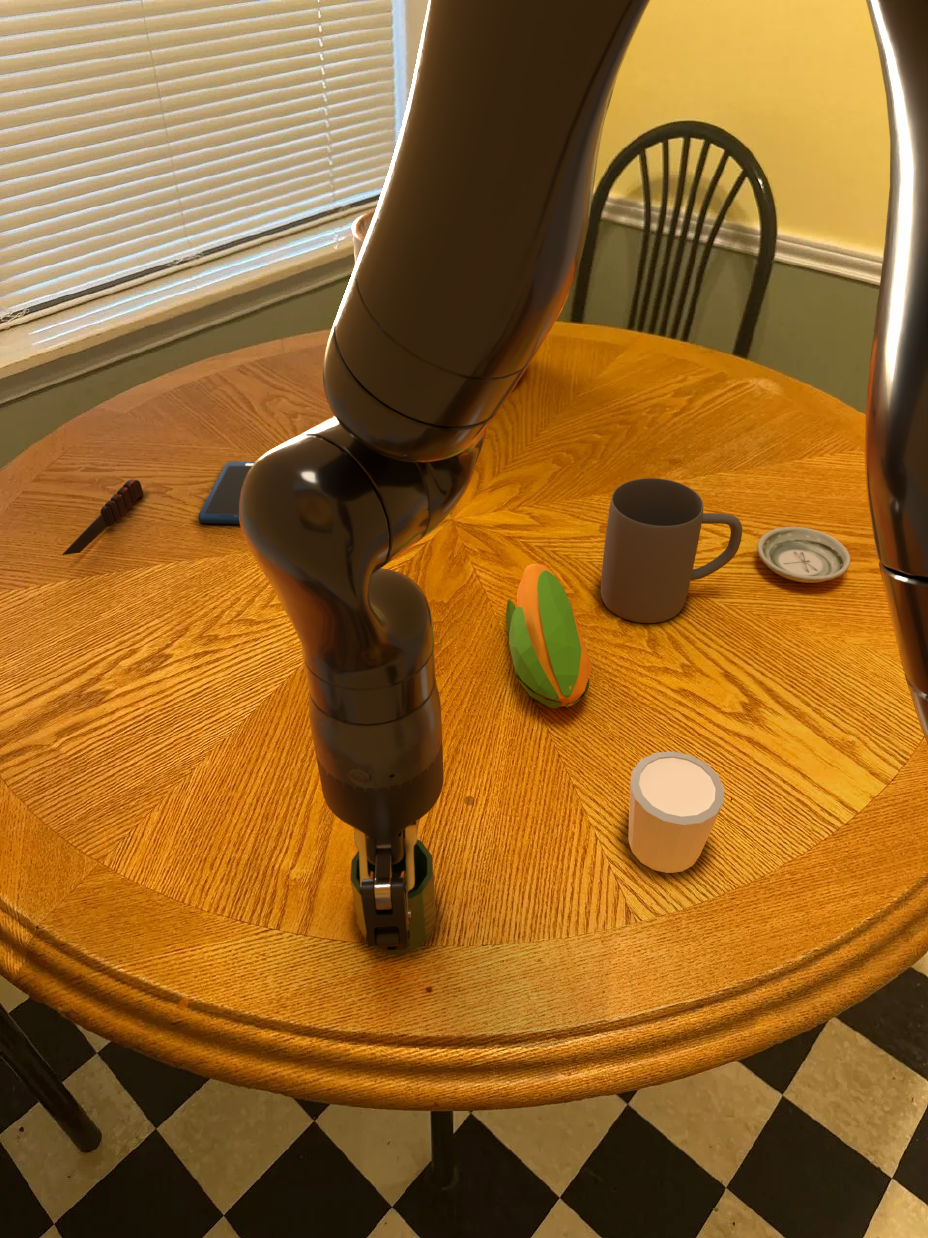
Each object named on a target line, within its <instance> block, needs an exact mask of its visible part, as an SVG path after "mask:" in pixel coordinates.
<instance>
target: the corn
mask: <svg viewBox="0 0 928 1238" xmlns="http://www.w3.org/2000/svg"><path fill="white" fill-rule="evenodd" d="M573 607H574V606H573V605H572V602H571V599H570V597H569V596H568V594H567V593H566V591H565V588H564V586H563V584H562V583H561V582H560V581H559V579H558V578H557V577H556V575H555V574H554V573H553V572H552V571H551V570H550V568H549V567H548V566H547V565H546V564H541V563H530V564H528V565H526V566H525V568H524V570H523V574H522V577H521V580H520V583H519V586H518V589H517V592H516V605H515V604H514V602H513V601H512V600H511V599H510V598H508V600H507V603H506V610H505V620H506V631H507V639H508V643H509V645H508V646H509V647H508V648H509V652H510V654H511V660H512V664H513V668H514V673H515V676H516V678H517V680H518V682H519V683H520V685H521V686H522V688H523V689H524V691H525V692H526V693H527V695H529V697H530V698H532V699H533V700H535V701H537V702H539V703H540V704H542V705H544V706H545V707H548V708H551V709H555V710H556V709H558V708H560V707H564V708H565V709H567V708H570V707H573V706H574V705H576V704H577V703H578V702H579V701H581V700H582V699H584V697H585V696H586V693H587V692H588V689H589V687H590V676H591V673H592V669H593V665H592V662H591V659H590V655H589V652H588V649H587V646H586V644H585V641H584V638H583V634H582V632H581V628H580V625H579V623H578V619H577V616H576V613H575V610H574V608H573Z"/></svg>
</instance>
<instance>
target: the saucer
mask: <svg viewBox="0 0 928 1238" xmlns="http://www.w3.org/2000/svg"><path fill="white" fill-rule="evenodd" d="M756 551H757V555H758V557H759V558H760V560H761V561H762V563H763V564H764V565H766V567H768V568H769V569H770V570H771V571H773V573H775V574H776V575H778V576H780V577H782V578H785V579H787V580H791V581H794V582H799V583H807V584H808V583H809V584H810V583H811V584H812V583H813V584H815V583H822V582H826V581H830V580H831V581H832V580H834V579H837V578H839V577H841V576H842V575H844V574H845V573H846V572H847V570H848V569H849V567H850V565H851V556H850V552H849V551H848V549H847V548H846V547H845V545H844V544H843V543H842V542H841V541H839V540H837V538H835V537H833V536H831V534H830V535H829V534H828V533H825V532H823V531H819V530H817V529H813V528H809V527H802V526H782V527H777V528H773V529H771V530H769V531H767V532H766V533H764V534H763V535H762V536H760V538H759V540H758V541H757V545H756Z"/></svg>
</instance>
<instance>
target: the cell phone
mask: <svg viewBox="0 0 928 1238" xmlns="http://www.w3.org/2000/svg"><path fill="white" fill-rule="evenodd" d="M255 462H256V461H247V460H246V461H245V460H234V461H233V460H232V461H227V462H226V463H225V465H224V466H223V467H222V470H221V472H220V473H219V476H218V477H217V479H216V481H215V483H214V485H213V487H212V489H211V491H210V492H209V494H208V495H207V498H206V499H205V502H204V503H203V506H202V507H201V509H200V511H199V514H198V515H197V519H198V522H199V523H201V524H214V525H215V524H217V525H219V524H220V525H240V520H239V501H240V495H241V490H242V486H243V483H244V480H245V477H246V475H247V473H248V471H249V470H250V468H251V467H252V466H253V464H254V463H255Z"/></svg>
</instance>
